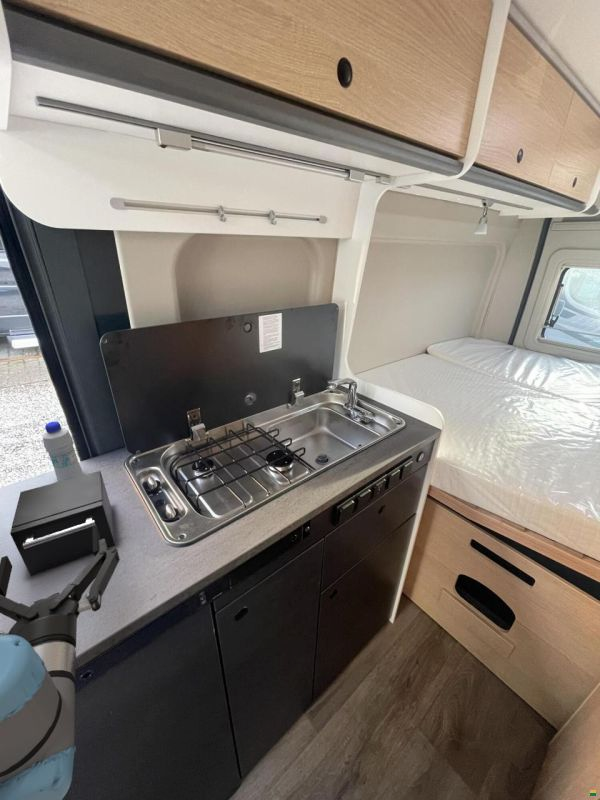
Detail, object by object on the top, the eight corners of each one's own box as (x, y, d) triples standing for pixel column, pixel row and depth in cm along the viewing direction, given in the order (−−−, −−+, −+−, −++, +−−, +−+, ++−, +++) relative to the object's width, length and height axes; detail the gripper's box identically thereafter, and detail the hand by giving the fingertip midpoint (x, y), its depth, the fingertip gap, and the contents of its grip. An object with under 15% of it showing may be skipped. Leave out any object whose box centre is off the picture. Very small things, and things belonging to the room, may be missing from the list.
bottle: (82, 485, 96) (63, 426, 88) (55, 490, 94) (33, 430, 86) (86, 471, 102) (68, 415, 94) (61, 476, 100) (40, 419, 91)
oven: (115, 541, 78) (102, 499, 73) (32, 571, 71) (11, 527, 65) (112, 509, 88) (100, 470, 82) (38, 533, 80) (20, 491, 75)
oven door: (116, 556, 75) (103, 513, 69) (29, 589, 67) (6, 544, 62) (115, 541, 78) (102, 500, 73) (32, 571, 71) (11, 528, 65)
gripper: (-74, 735, 40) (-28, 591, 56) (146, 627, 52) (131, 534, 68) (-105, 704, 37) (-46, 561, 53) (137, 597, 48) (124, 506, 65)
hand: (54, 545), depth 61 cm, fingers open, 13 cm apart
